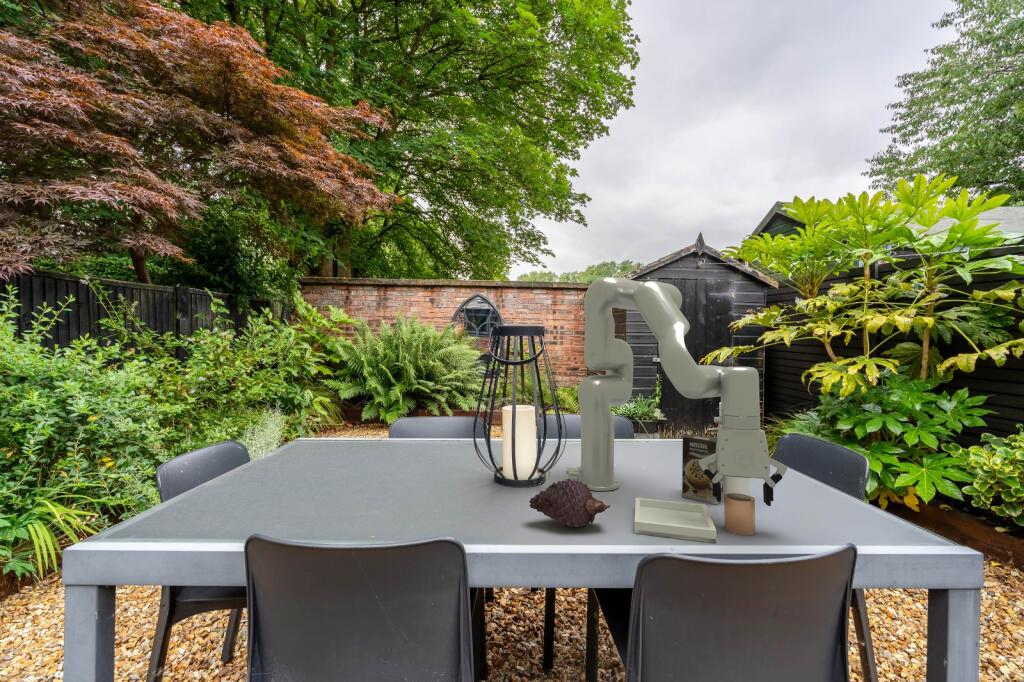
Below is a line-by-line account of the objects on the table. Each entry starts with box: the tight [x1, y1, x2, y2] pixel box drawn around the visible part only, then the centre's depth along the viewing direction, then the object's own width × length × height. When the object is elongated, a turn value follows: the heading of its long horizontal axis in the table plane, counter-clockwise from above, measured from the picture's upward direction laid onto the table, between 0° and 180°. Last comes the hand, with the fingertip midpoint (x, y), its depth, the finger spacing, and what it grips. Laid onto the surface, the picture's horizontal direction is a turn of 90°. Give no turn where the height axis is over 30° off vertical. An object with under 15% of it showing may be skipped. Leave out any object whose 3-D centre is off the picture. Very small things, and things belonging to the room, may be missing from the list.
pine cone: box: [528, 478, 611, 528], centre depth 98 cm, size 18×10×10 cm, turn 83°
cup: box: [723, 493, 756, 536], centre depth 96 cm, size 6×6×7 cm
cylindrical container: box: [718, 401, 750, 496], centre depth 118 cm, size 7×7×25 cm
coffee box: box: [681, 433, 724, 506], centre depth 117 cm, size 9×6×16 cm
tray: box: [634, 497, 717, 544], centre depth 99 cm, size 16×16×2 cm
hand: (742, 502), depth 96 cm, fingers open, 9 cm apart
